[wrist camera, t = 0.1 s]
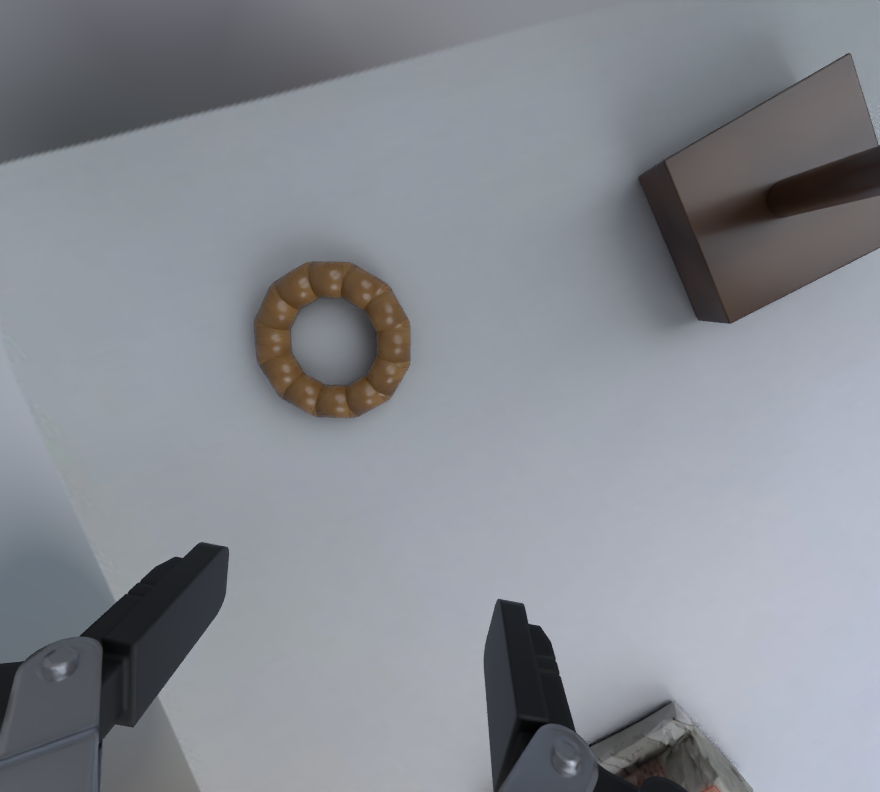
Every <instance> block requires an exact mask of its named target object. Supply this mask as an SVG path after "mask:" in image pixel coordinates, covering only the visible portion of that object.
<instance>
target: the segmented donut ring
mask: <svg viewBox="0 0 880 792" xmlns="http://www.w3.org/2000/svg"><path fill="white" fill-rule="evenodd" d="M318 298H344V299H345V300H347V301H349V302H350V303H352V304H354V305H355V306H357V307H359V308H360V309H362V310H364V312H365V314H366V315H367V317H368V319H369V320H370V322H371V324H372V326H373V327H374V329H375V331H376V346H377V356H376V358H375V359H374V361H373V363H372V365H371V367H370V368H369V370H368V372H367V374H366V375H365V376H363V377H361V378H359V379H358V380H356V381H354V382H352V383H350V384H349V385H324V384H323V383H321V382H319V381H317V380H316V379H314V378H312V377H310V376H309V375H307V374H305V373H304V371H303V370H302V368H301V366H300V365H299V363H298V362H297V360H296V359H295V357H294V355H293V354H292V346H291V332H290V329H291V327H292V325H293V323H294V321H295V319H296V317H297V315H298V313H299V311H300V309H302V308H303V307H305V306H307V305H308V304H310V303H312V302H313V301H315V300H317V299H318ZM254 334H255V345H256V356H257V362H258V364H259V366H260V368H261V369H262V371H263V372H264V374H265V375H266V377H267V378H268V380H269V381H270V383H271V384H272V386H273V388H274V389H275V391H276V392H277V394H278V395H279V396H280V397H281V398H282V399H284V400H286V401H288V402H289V403H291V404H293V405H295V406H296V407H298V408H300V409H302V410H304V411H305V412H307V413H309V414H311V415H313V416H315V417H329V418H355V417H358V416H360V415H362V414H364V413H366V412H368V411H369V410H371V409H373V408H375V407H377V406H379V405H380V404H382V403H384V402H386V401H387V400H389V399H390V398H391V397H392V395H393V394H394V392H395V390H396V388H397V387H398V385H399V383H400V382H401V380H402V378H403V376H404V375H405V373H406V371H407V370H408V368H409V366H410V322H409V320H408V318H407V316H406V314H405V312H404V311H403V309H402V307H401V305H400V304H399V302H398V300H397V298H396V297H395V295H394V293H393V291H392V290H391V288H390V287H389V286H388V285H387V284H386V283H385V282H383V281H381V280H380V279H378V278H377V277H375V276H373V275H372V274H370V273H368V272H367V271H365V270H363V269H362V268H360V267H358V266H357V265H355V264H353V263H350V262H306V263H304V264H302V265H301V266H299V267H297V268H296V269H294V270H293V271H291V272H289V273H288V274H286V275H285V276H283V277H281V278H280V279H278V280H277V281H275V282H274V283H273V284H272V285H271V286H270V288H269V289H268V292H267V294H266V296H265V298H264V300H263V302H262V304H261V306H260V308H259V311H258V313H257V315H256V317H255V319H254Z"/></svg>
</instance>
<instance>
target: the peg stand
mask: <svg viewBox="0 0 880 792" xmlns="http://www.w3.org/2000/svg"><path fill="white" fill-rule="evenodd" d="M639 180H640V183H641V185H642V187H643V190H644V192H645V194H646V197H647V199H648V202H649V204H650V206H651V209H652V211H653V213H654V216H655V218H656V220H657V223H658V225H659V228H660V230H661V232H662V235H663V237H664V239H665V242H666V244H667V247H668V249H669V251H670V254H671V256H672V258H673V261H674V263H675V265H676V268H677V270H678V273H679V275H680V277H681V280H682V282H683V284H684V287H685V289H686V292H687V294H688V296H689V299H690V301H691V303H692V306H693V308H694V310H695V313H696V315H697V318H698V320H700V321H709V322H719V323H728V324H731V323H733V322H735V321H737V320H739V319H741V318H743V317H745V316H747V315H748V314H750V313H752V312H754V311H756V310H758V309H760V308H762V307H764V306H766V305H768V304H770V303H772V302H774V301H776V300H778V299H780V298H782V297H784V296H786V295H788V294H790V293H792V292H794V291H796V290H798V289H800V288H802V287H804V286H806V285H807V284H809V283H811V282H813V281H815V280H817V279H819V278H821V277H823V276H825V275H827V274H829V273H831V272H833V271H835V270H837V269H839V268H841V267H843V266H845V265H847V264H849V263H851V262H853V261H855V260H857V259H859V258H861V257H863V256H865V255H866V254H868V253H870V252H872V251H874V250H876V249H878V248H880V145H878V142H877V138H876V135H875V132H874V128H873V125H872V122H871V119H870V115H869V112H868V109H867V106H866V102H865V99H864V96H863V92H862V89H861V86H860V83H859V79H858V76H857V73H856V69H855V66H854V63H853V60H852V56H851V54H850V53H848V54H846V55H844V56H843V57H841V58H839V59H837V60H836V61H834V62H832V63H830V64H829V65H827V66H825V67H824V68H822V69H820V70H818V71H817V72H815V73H813V74H812V75H810V76H808V77H806V78H805V79H803V80H801V81H799V82H798V83H796V84H794V85H793V86H791V87H789V88H787V89H786V90H784V91H782V92H780V93H779V94H777V95H775V96H774V97H772V98H770V99H768V100H767V101H765V102H763V103H761V104H760V105H758V106H756V107H755V108H753V109H751V110H749V111H748V112H746V113H744V114H742V115H741V116H739V117H737V118H736V119H734V120H732V121H730V122H729V123H727V124H725V125H724V126H722V127H720V128H718V129H717V130H715V131H713V132H711V133H710V134H708V135H706V136H705V137H703V138H701V139H699V140H698V141H696V142H694V143H692V144H691V145H689V146H687V147H686V148H684V149H682V150H680V151H679V152H677V153H675V154H673V155H672V156H670V157H668V158H667V159H665V160H663V161H662V162H660V163H659V164H657V165H655V166H654V167H652V168H651V169H649V170H648V171H646V172H644V173H643V174H641V175H640V176H639Z"/></svg>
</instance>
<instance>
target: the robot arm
mask: <svg viewBox="0 0 880 792" xmlns="http://www.w3.org/2000/svg"><path fill="white" fill-rule="evenodd" d="M228 559H229V549H228V547H225V546H219V545H214V544H209V543H204V542H201V543H198V544H197V545H196V546H195V547H194V548H193V549H192V550H191V551H190V552H189V553H188V554H187V555H186V556H185V557H184V558H179V557H174V558H172V559H170V560H168V561H166V562H164V563H162V564H160V565H158V566H156V567H155V568H154V569H153V570H151V571H150V572H149V573H148V574H147V575H146V576H145V577H144V578H143V579H142V580H141V582H140V583H137V584H136V585H135V586H134V587H133V588H132V589H131V590H130V591H129V592H128V594H125V595H124V596H123V597H122V598H121V599H120V600H119V601H117V602H116V603H115V604H114V605H113V606H112V607H111V608H110V609H109V610H108V611H107V612H106V613H104V614H103V615H102V616H101V617H100V618H99V619H98V620H97V621H96V622H94V623H93V624H92V625H91V626H90V627H89V628H88V629H87V630H86V631H85V632H83V633H82V634H81V635H80V636H79V637H71V638H66V639H62V640H59V641H56V642H53V643H51V644H49V645H47V646H45V647H43V648H41V649H39V650H38V651H36V652H35V653H33V654H32V655H30V656H29V657H28V658H27V659H26V660H25V661H22V662H13V663H3V664H0V792H101V775H102V754H103V739H104V738H105V736H106V735H107V734H108V732H109V731H110V730H111V729H112V727H113V726H114V725H115V724H117V725H123V726H128V727H134V726H135V725H136V723H137V722H138V720H139V719H140V718H141V716H142V715H143V714H144V712H145V711H146V710H147V708H148V707H149V705H150V704H151V703H152V701H153V700H154V699H155V698H156V696H157V695H158V694H159V692H160V691H161V689H162V688H163V687H164V685H165V684H166V683H167V681H168V680H169V679H170V677H171V676H172V675H173V673H174V672H175V671H176V669H177V668H178V667H179V665H180V664H181V663H182V661H183V660H184V658H185V657H186V656H187V654H188V653H189V652H190V650H191V649H192V648H193V646H194V645H195V644H196V642H197V641H198V640H199V638H200V637H201V636H202V634H203V633H204V632H205V630H206V629H207V628H208V626H209V625H210V623H211V622H212V621H213V619H214V618H215V617H216V615H217V614H218V612H219V610H220V608H221V606H222V604H223V601H224V598H225V594H226V585H227V572H228ZM555 659H556V658H555V655H554V651H553V648H552V644H551V641H550V640H549V638H548V637H547V636H546V634H545V633H544V631H543V630H542V628H541V627H540V626H537V625H531V624H528V620H527V615H526V611H525V606H524V604H523V603H518V602H513V601H507V600H502V599H498V600H497V602H496V605H495V608H494V612H493V616H492V620H491V624H490V627H489V631H488V635H487V639H486V644H485V650H484V675H485V688H486V700H487V713H488V726H489V739H490V752H491V765H492V778H493V791H494V792H688V791H687V790H686V789H684V788H683V787H682V786H680V785H679V784H677V783H676V782H674V781H672V780H670V779H667V778H664V777H660V776H651V777H648V778H647V779H645V780H644V781H643V783H642V784H641V787H640V788H639V787H637V786H635V785H634V784H632V783H630V782H628V781H626V780H624V779H622V778H620V777H618V776H616V775H615V774H613V773H611V772H609V771H608V770H606V769H604V768H603V767H602V766H600V765H599V764H598V763H597V761H596V759H595V756H594V754H593V752H592V750H591V749H590V747H589V746H588V744H587V743H586V742H585V741H584V740H583V739H582V738H581V737H580V736H579V735H578V734H577V733H576V731H575V727H574V724H573V720H572V717H571V713H570V709H569V706H568V702H567V698H566V695H565V691H564V687H563V684H562V680H561V677H560V676H559V669H558V666H557V662H555Z"/></svg>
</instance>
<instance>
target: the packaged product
mask: <svg viewBox="0 0 880 792" xmlns="http://www.w3.org/2000/svg"><path fill="white" fill-rule="evenodd" d="M590 749H591V750H592V752H593V754H594V756H595V759H596V761H597V763H598V764H599V765H600V766H602V767H603V768H604V769H606V770H608V771H609V772H611V773H613V774H615V775H616V776H618V777H620V778H622V779H624V780H626V781H628V782H630V783H632V784H634V785H635V786H637V787H639V788H640V787H641V784H642V783H643V781H644V780H645V779H647V778H648V777H651V776H660V777H664V778H667V779H670V780H672V781H674V782H676V783H677V784H679V785H680V786H682V787H683V788H684V789H686V790H687V791H688V792H753V789H752V788H751V786H750V785H749V784H748V783H747V782H746V780H745V779H744V778H743V777H742V776H741V774H740V773H739V772H738V771H737V770H736V768H735V767H734V766H733V765H732V764H731V762H730V761H729V760H728V759H727V758H726V757H725V756H724V755H723V754H722V752H721V751H720V750H719V749H718V748H717V747H716V746H715V745H714V744H713V743H712V742H711V741H710V740H709V739H708V738H707V737H706V736H705V734H704V733H703V732H702V731H701V730H700V729H699V728H698V726H697V725H696V724H695V723H694V722H693V721H692V720H691V718H690V717H689V716H688V715H687V714H686V713H685V711H684V710H683V709H682V708H681V707H679V706H678V705H677V704H676V703H675V702H672V703H670V704H669V705H667V706H665V707H664V708H662V709H660V710H659V711H657V712H655V713H654V714H652V715H650V716H649V717H647V718H645V719H644V720H642V721H640V722H638V723H636V724H634V725H632V726H630V727H629V728H627V729H625V730H623V731H621V732H619V733H617V734H615V735H613V736H611V737H609V738H607V739H606V740H604V741H601V742H599V743H597V744H595V745H593V746H591V747H590Z"/></svg>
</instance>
